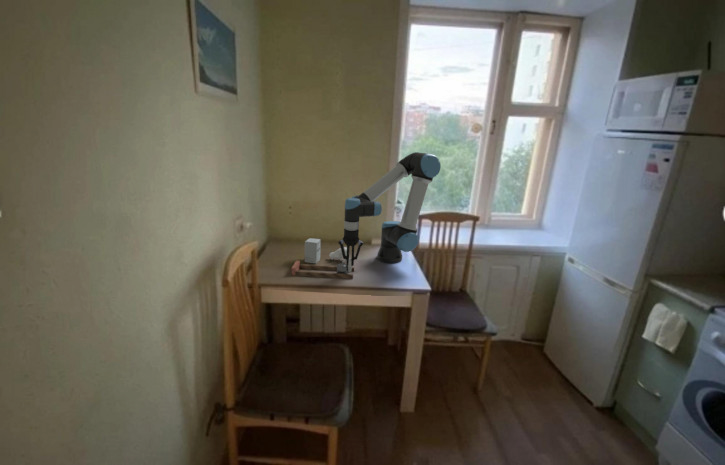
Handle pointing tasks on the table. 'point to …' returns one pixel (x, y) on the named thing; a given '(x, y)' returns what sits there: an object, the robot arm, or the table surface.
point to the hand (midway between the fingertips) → (349, 271)
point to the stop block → (295, 267)
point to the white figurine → (338, 254)
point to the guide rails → (321, 274)
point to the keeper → (342, 268)
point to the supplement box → (312, 250)
